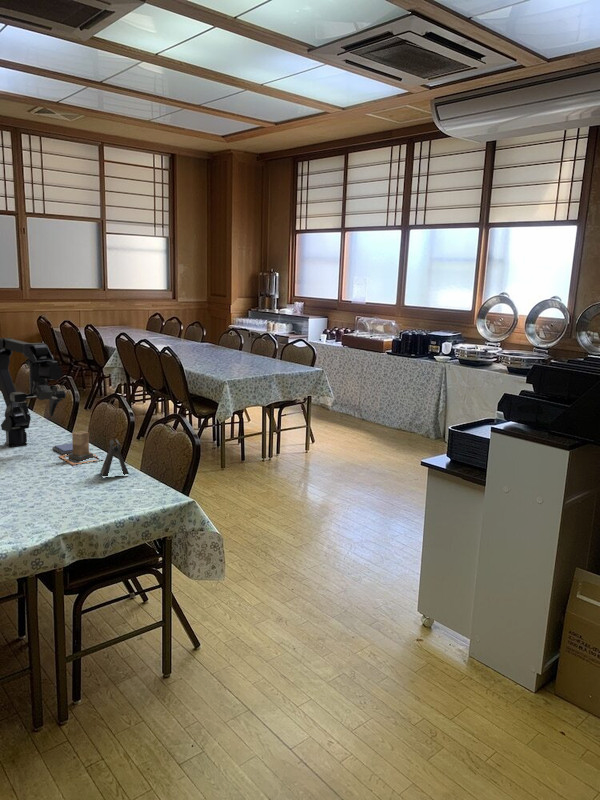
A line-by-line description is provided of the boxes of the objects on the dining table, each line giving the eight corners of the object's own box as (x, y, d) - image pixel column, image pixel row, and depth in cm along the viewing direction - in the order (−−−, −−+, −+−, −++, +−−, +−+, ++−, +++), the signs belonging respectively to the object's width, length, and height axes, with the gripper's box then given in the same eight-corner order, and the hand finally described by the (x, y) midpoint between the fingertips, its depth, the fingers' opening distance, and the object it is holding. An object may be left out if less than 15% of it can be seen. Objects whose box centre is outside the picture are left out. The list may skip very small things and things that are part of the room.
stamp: (80, 462, 220) (79, 435, 218) (68, 459, 223) (68, 432, 221) (93, 458, 226) (92, 432, 224) (81, 455, 228) (81, 429, 226)
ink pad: (63, 455, 227) (63, 451, 227) (52, 449, 234) (52, 445, 234) (88, 451, 234) (88, 447, 234) (77, 445, 241) (77, 441, 241)
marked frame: (73, 465, 216) (73, 464, 216) (58, 457, 225) (58, 455, 225) (104, 460, 224) (104, 459, 223) (89, 452, 233) (89, 451, 232)
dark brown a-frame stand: (101, 478, 204) (101, 443, 202) (100, 473, 209) (100, 439, 207) (129, 476, 207) (129, 442, 205) (127, 471, 213) (127, 438, 211)
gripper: (19, 381, 213) (20, 425, 216) (71, 378, 226) (72, 419, 229) (8, 377, 221) (10, 419, 224) (59, 374, 234) (60, 413, 237)
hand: (39, 418), depth 228 cm, fingers open, 9 cm apart
